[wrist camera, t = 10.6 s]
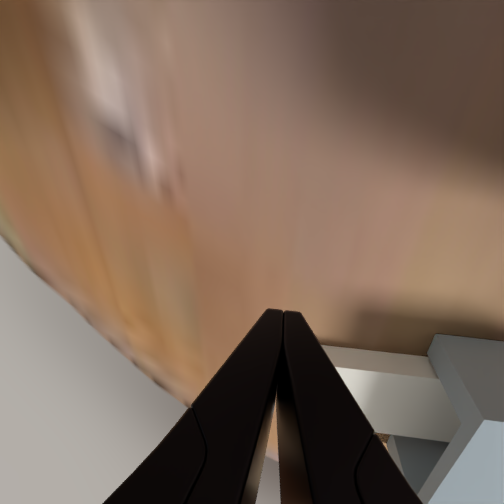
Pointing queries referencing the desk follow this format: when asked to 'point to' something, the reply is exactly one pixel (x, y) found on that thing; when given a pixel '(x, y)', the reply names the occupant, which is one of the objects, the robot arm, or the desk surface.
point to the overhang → (461, 428)
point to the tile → (397, 392)
